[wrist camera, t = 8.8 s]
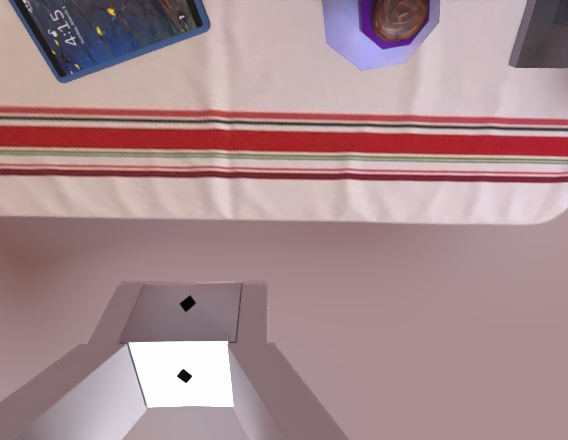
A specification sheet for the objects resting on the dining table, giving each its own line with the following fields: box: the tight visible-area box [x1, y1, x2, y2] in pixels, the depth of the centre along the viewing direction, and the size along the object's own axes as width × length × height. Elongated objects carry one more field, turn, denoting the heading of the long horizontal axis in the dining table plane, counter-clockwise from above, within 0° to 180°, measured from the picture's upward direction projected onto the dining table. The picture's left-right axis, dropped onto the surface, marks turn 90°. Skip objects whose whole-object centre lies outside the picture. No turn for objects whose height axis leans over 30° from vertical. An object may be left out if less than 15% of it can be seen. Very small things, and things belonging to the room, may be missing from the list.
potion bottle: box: [322, 0, 440, 71], centre depth 28 cm, size 9×9×12 cm
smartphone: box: [9, 0, 210, 83], centre depth 33 cm, size 8×1×15 cm
